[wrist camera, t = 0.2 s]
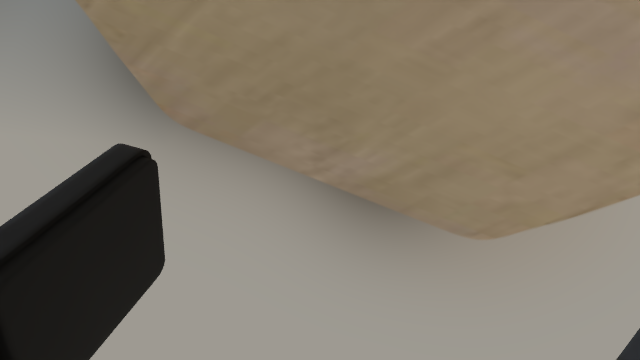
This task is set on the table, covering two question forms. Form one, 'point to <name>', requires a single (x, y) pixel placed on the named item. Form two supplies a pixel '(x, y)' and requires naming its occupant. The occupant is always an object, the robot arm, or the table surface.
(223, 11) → the table surface
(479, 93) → the table surface
